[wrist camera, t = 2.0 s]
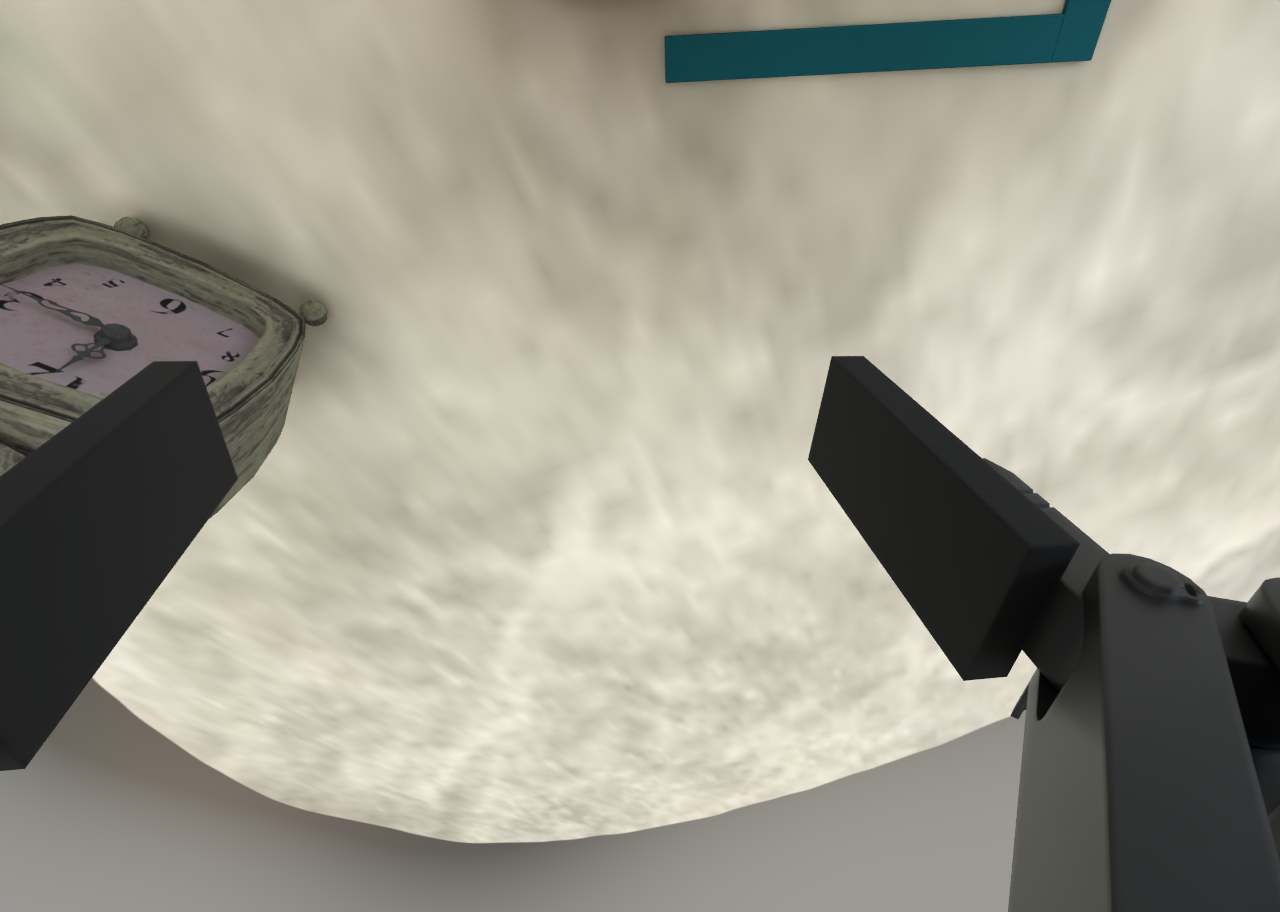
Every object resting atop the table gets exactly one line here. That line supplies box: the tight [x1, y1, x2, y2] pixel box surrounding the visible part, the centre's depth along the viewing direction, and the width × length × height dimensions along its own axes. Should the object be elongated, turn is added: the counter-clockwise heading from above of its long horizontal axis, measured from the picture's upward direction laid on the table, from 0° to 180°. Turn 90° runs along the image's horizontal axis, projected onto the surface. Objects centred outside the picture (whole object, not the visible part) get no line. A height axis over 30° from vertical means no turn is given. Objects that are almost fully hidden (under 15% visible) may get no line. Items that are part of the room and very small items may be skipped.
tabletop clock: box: [0, 216, 327, 518], centre depth 30 cm, size 14×9×25 cm, turn 61°
